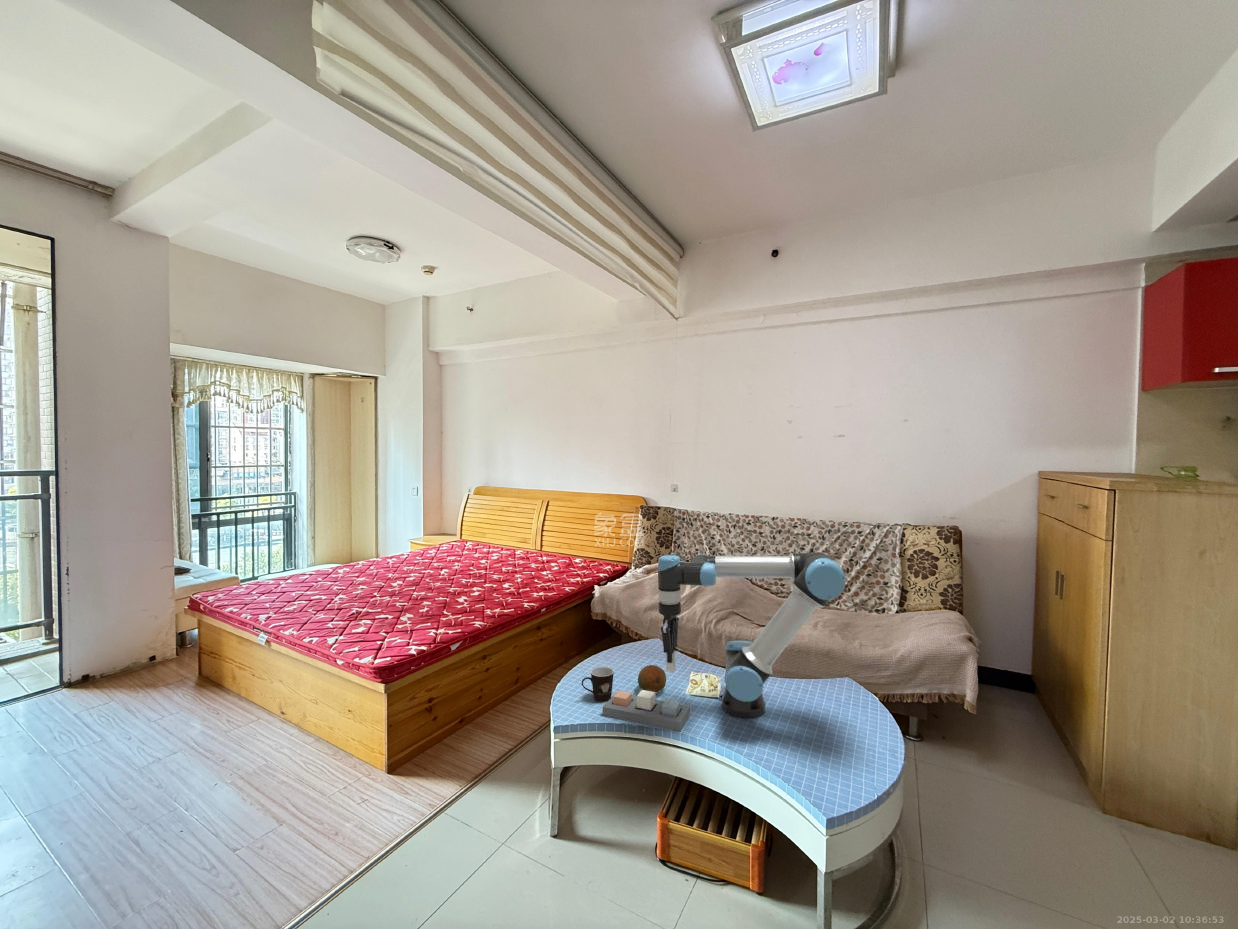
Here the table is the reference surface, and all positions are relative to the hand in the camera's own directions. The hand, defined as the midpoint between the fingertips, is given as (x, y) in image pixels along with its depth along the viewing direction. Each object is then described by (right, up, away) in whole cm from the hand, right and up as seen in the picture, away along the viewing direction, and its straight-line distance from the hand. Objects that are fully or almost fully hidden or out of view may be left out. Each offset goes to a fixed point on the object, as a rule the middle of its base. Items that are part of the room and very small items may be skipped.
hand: (671, 670), depth 171 cm
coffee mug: (-25, -17, +17) cm, 35 cm away
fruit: (-5, -17, +22) cm, 28 cm away
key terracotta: (-16, -15, +7) cm, 24 cm away
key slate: (0, -15, 0) cm, 15 cm away
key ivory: (-8, -14, +3) cm, 16 cm away
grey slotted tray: (-8, -17, +4) cm, 19 cm away
